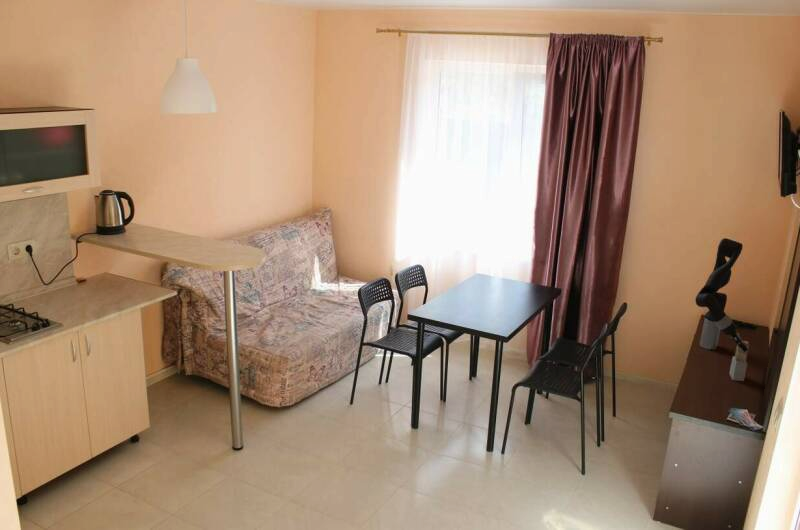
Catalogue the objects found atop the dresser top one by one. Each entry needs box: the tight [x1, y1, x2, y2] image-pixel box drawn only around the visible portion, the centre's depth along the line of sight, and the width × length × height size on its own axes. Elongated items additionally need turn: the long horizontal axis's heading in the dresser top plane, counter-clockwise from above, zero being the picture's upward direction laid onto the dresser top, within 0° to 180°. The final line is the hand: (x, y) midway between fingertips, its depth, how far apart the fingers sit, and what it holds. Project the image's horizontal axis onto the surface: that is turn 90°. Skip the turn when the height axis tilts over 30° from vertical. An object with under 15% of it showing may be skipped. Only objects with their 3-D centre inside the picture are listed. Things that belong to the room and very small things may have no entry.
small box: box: [729, 355, 748, 382], centre depth 376 cm, size 8×6×10 cm
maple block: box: [734, 340, 750, 362], centre depth 372 cm, size 4×4×10 cm
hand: (744, 347), depth 372 cm, fingers open, 8 cm apart
